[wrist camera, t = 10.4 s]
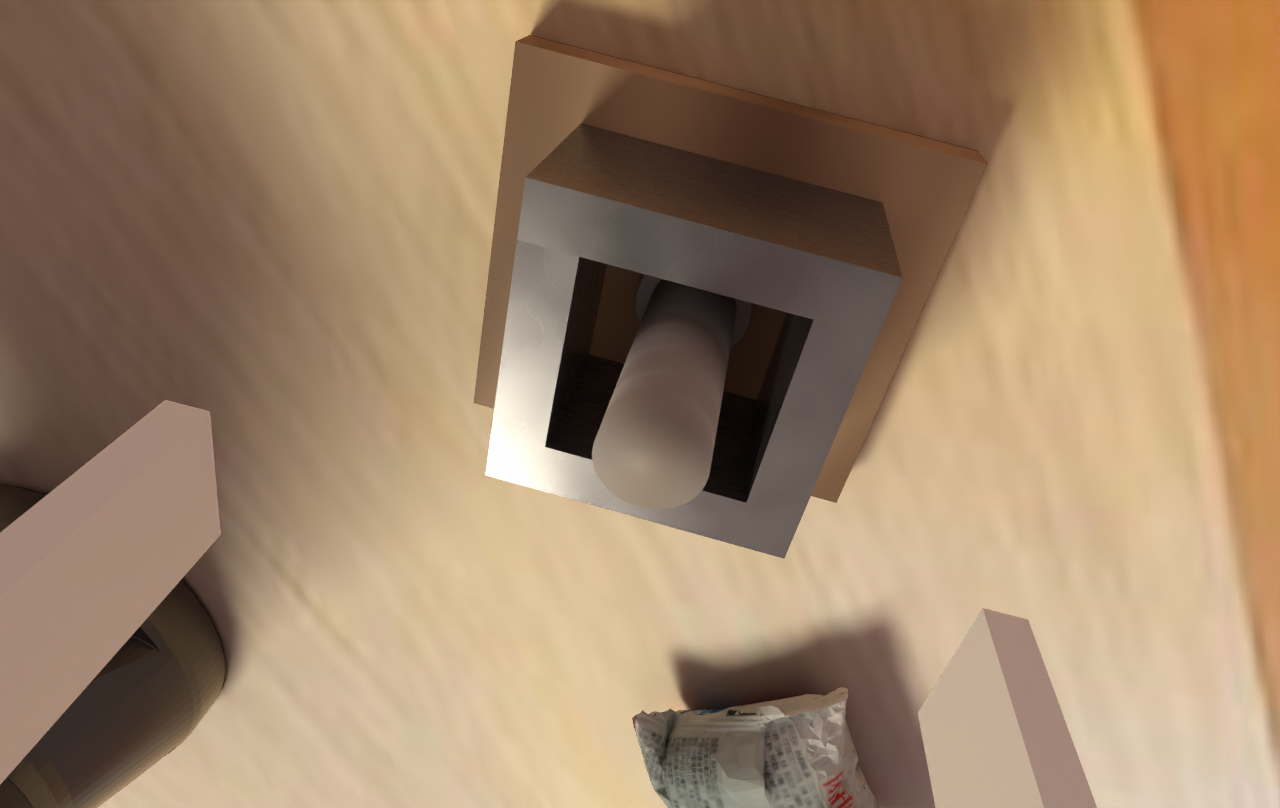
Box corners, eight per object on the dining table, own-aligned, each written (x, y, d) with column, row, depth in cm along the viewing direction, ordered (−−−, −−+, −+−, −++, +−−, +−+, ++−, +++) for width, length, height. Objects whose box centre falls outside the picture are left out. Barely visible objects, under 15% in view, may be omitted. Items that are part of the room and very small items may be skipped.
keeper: (486, 384, 27) (360, 574, 20) (529, 35, 21) (373, 108, 14) (835, 480, 27) (847, 712, 19) (978, 151, 21) (1081, 295, 13)
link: (538, 380, 25) (485, 475, 21) (581, 122, 21) (525, 177, 17) (787, 449, 25) (784, 558, 21) (882, 202, 21) (902, 277, 17)
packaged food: (845, 639, 31) (850, 754, 27) (921, 828, 36) (935, 949, 32) (636, 670, 34) (611, 777, 30) (733, 840, 39) (723, 952, 35)
